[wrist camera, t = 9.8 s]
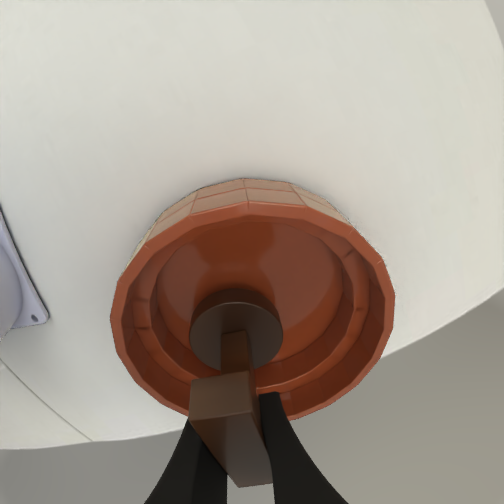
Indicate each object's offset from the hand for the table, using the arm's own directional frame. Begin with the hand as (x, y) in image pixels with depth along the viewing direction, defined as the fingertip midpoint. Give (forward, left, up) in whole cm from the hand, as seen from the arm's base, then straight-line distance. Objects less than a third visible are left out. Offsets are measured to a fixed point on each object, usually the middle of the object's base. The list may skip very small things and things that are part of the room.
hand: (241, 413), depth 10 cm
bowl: (+1, +1, -7) cm, 7 cm away
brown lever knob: (0, 0, -5) cm, 5 cm away
